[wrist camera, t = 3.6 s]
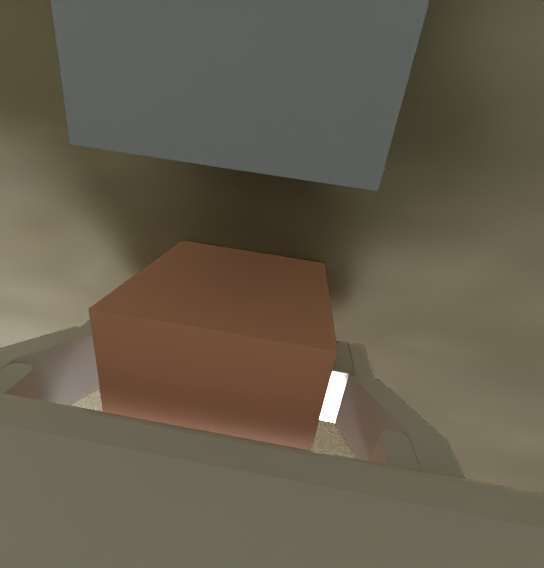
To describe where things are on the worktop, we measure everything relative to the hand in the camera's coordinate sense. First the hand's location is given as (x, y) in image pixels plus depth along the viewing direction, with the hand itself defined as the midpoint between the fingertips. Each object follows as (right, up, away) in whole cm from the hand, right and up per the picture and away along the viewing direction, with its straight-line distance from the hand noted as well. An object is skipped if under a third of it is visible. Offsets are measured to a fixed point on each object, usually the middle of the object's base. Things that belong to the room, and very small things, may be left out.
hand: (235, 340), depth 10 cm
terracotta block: (0, +1, +2) cm, 2 cm away
